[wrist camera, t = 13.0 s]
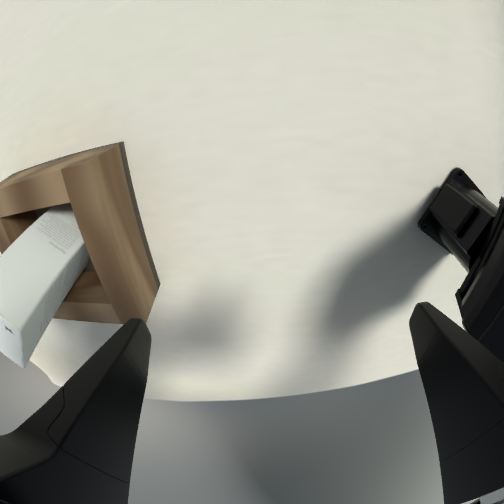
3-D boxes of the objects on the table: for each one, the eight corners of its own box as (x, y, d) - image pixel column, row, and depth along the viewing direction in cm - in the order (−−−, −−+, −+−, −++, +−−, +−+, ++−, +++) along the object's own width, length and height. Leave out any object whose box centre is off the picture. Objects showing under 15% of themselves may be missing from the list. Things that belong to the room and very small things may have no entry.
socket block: (123, 141, 17) (88, 162, 13) (160, 284, 25) (145, 325, 21) (13, 173, 18) (-22, 197, 14) (57, 284, 25) (36, 315, 21)
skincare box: (65, 192, 19) (-32, 288, 9) (105, 218, 20) (21, 332, 10) (52, 243, 21) (-19, 338, 11) (87, 266, 23) (26, 371, 13)
